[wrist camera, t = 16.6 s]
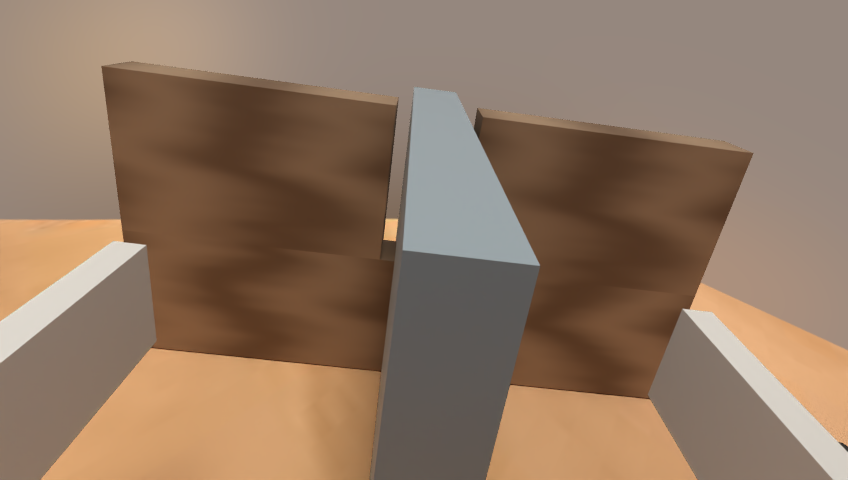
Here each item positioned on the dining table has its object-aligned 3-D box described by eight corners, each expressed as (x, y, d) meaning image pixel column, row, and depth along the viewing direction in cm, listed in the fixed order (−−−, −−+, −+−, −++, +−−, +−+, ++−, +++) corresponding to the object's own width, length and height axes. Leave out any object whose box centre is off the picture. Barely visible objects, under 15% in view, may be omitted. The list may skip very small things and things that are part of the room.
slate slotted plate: (428, 702, 12) (540, 265, 7) (346, 698, 12) (402, 249, 7) (423, 306, 28) (455, 92, 24) (388, 303, 28) (414, 86, 23)
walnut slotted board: (636, 371, 25) (724, 141, 21) (652, 398, 24) (753, 153, 19) (158, 320, 24) (131, 61, 19) (137, 345, 22) (101, 66, 17)
